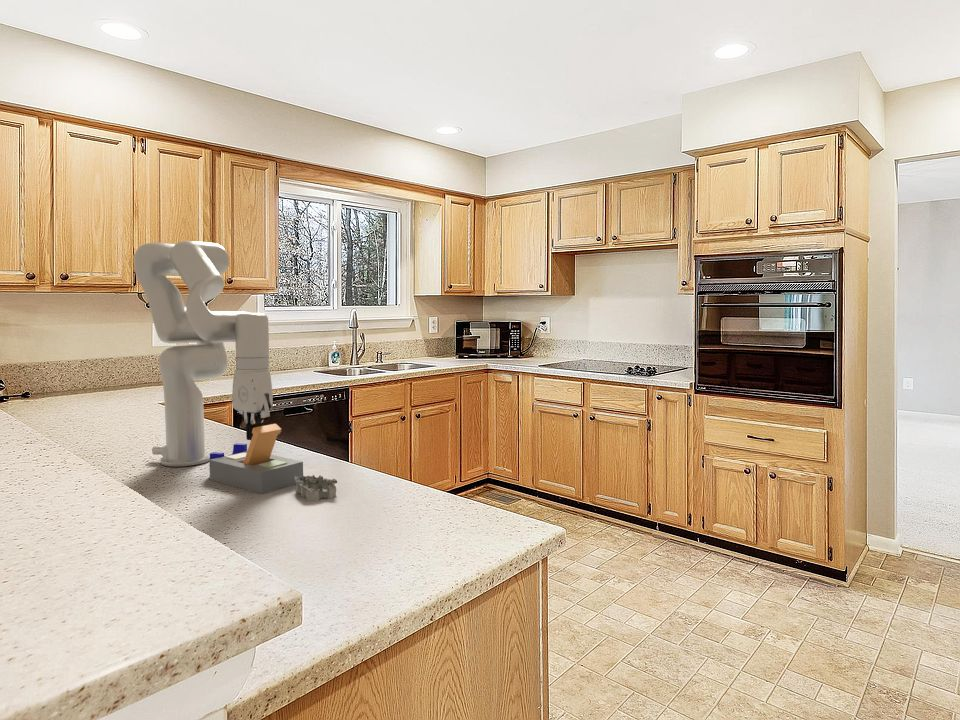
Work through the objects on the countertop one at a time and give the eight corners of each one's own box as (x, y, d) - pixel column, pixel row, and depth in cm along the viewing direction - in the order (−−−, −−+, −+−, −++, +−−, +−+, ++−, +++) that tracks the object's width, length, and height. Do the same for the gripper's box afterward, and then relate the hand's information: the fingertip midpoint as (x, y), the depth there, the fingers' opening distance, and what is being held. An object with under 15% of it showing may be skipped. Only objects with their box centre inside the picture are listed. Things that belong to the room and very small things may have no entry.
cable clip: (232, 464, 170) (231, 442, 169) (247, 465, 169) (246, 443, 168) (204, 476, 158) (204, 453, 158) (221, 477, 157) (220, 454, 157)
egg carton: (339, 498, 142) (339, 480, 141) (306, 503, 138) (305, 485, 137) (324, 486, 151) (324, 469, 150) (292, 490, 147) (292, 473, 147)
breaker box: (209, 479, 155) (209, 458, 154) (251, 469, 165) (251, 449, 164) (261, 493, 144) (261, 471, 143) (303, 481, 153) (302, 460, 153)
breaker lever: (239, 469, 152) (253, 427, 148) (262, 463, 158) (275, 423, 153) (245, 475, 151) (259, 433, 147) (267, 469, 156) (281, 429, 152)
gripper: (220, 363, 153) (221, 437, 154) (259, 367, 144) (260, 446, 146) (246, 361, 159) (248, 432, 161) (285, 365, 151) (286, 440, 152)
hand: (254, 439), depth 153 cm, fingers closed
